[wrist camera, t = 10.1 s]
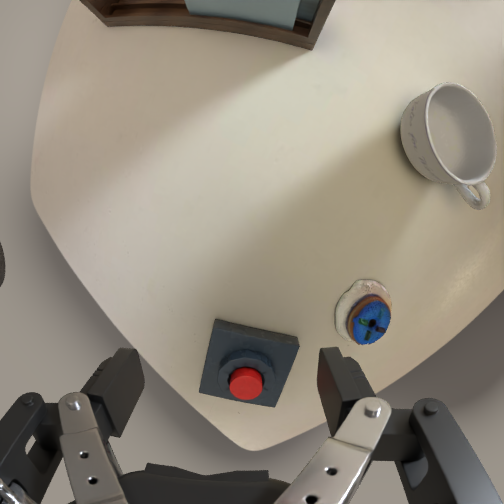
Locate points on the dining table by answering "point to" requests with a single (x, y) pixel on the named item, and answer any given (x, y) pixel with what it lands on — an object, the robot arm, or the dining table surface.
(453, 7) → the dining table surface
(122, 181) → the dining table surface
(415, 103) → the teacup
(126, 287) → the dining table surface
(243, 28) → the window frame
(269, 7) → the window pane
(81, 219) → the dining table surface
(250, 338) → the button box
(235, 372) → the button
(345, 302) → the dessert
